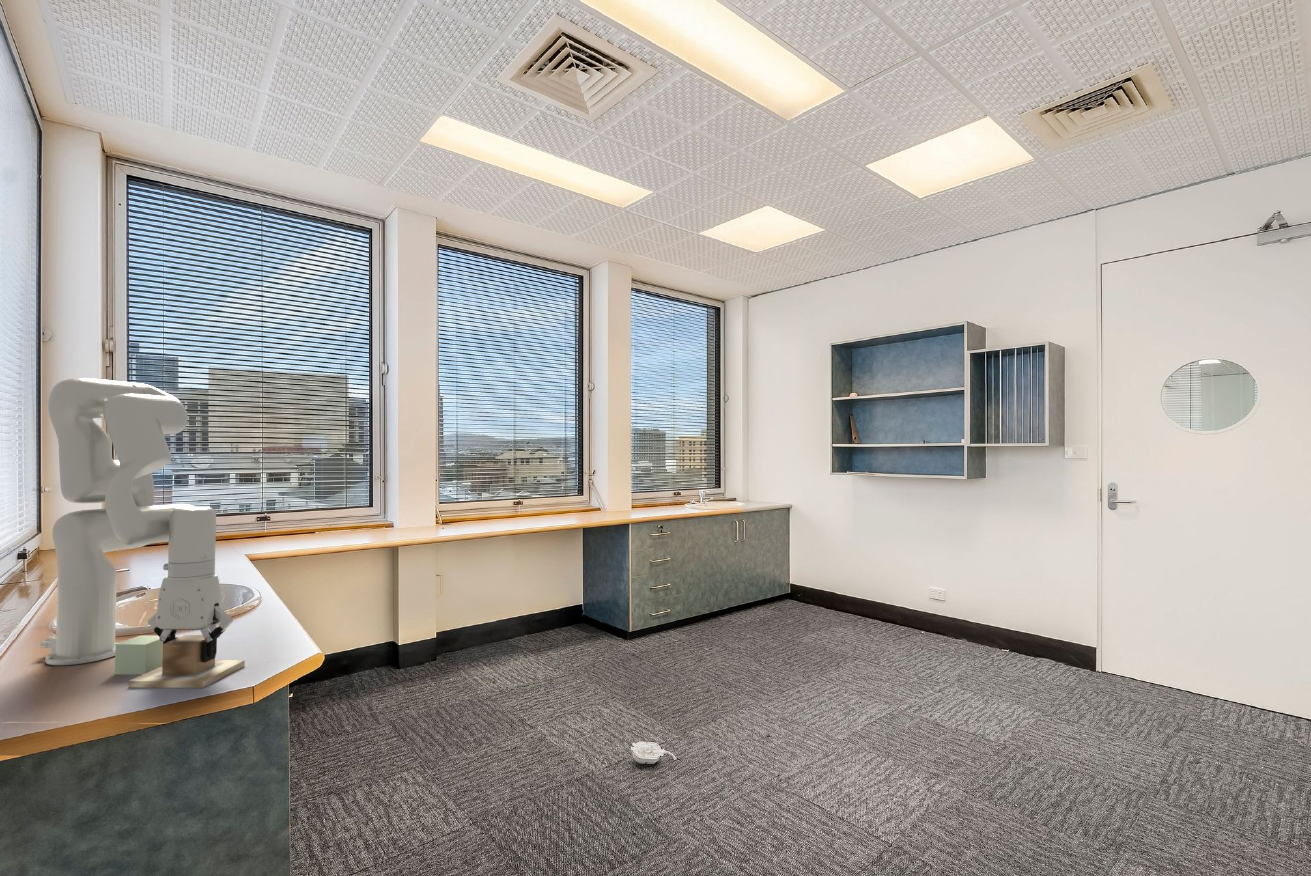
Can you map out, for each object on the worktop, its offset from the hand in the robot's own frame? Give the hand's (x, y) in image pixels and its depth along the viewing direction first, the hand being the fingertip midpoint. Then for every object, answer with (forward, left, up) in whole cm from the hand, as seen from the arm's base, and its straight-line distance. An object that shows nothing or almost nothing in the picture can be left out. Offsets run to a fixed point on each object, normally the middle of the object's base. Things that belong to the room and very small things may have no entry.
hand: (189, 659), depth 124 cm
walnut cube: (0, 0, -2) cm, 2 cm away
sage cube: (-12, +4, -3) cm, 14 cm away
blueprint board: (0, 0, -3) cm, 3 cm away
